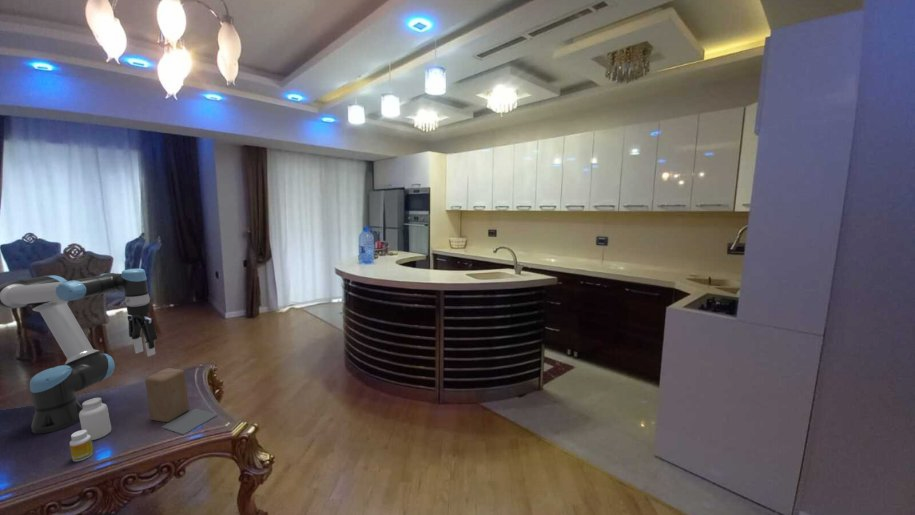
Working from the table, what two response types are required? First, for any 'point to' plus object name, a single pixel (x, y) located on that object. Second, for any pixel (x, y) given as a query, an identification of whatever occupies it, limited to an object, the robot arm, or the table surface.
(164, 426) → the mat
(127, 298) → the robot arm
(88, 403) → the pill bottle
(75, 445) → the supplement bottle
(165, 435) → the table surface
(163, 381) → the wooden block
